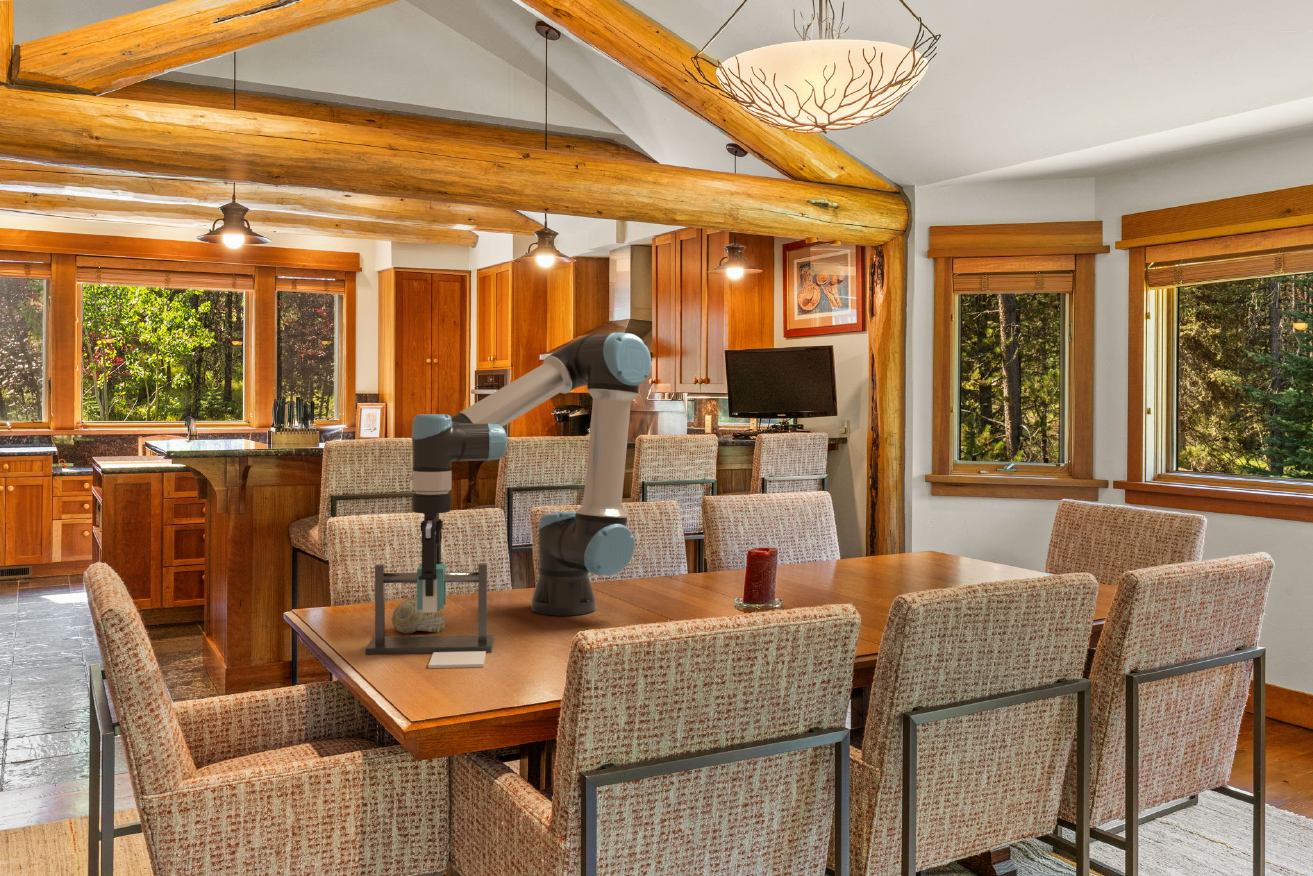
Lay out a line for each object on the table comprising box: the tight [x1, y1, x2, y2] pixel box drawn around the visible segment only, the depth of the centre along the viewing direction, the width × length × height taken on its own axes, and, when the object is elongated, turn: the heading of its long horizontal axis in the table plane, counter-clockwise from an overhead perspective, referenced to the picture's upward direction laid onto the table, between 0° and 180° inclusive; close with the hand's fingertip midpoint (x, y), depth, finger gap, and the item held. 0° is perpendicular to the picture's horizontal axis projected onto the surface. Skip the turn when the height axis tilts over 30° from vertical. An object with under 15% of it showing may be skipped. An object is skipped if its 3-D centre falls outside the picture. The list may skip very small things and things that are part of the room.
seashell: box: [391, 597, 446, 635], centre depth 207 cm, size 10×10×10 cm
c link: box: [416, 563, 447, 611], centre depth 193 cm, size 5×6×8 cm
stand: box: [364, 562, 495, 656], centre depth 193 cm, size 24×9×17 cm, turn 97°
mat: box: [427, 651, 487, 669], centre depth 184 cm, size 10×9×1 cm
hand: (431, 608), depth 193 cm, fingers closed on c link, 6 cm apart
